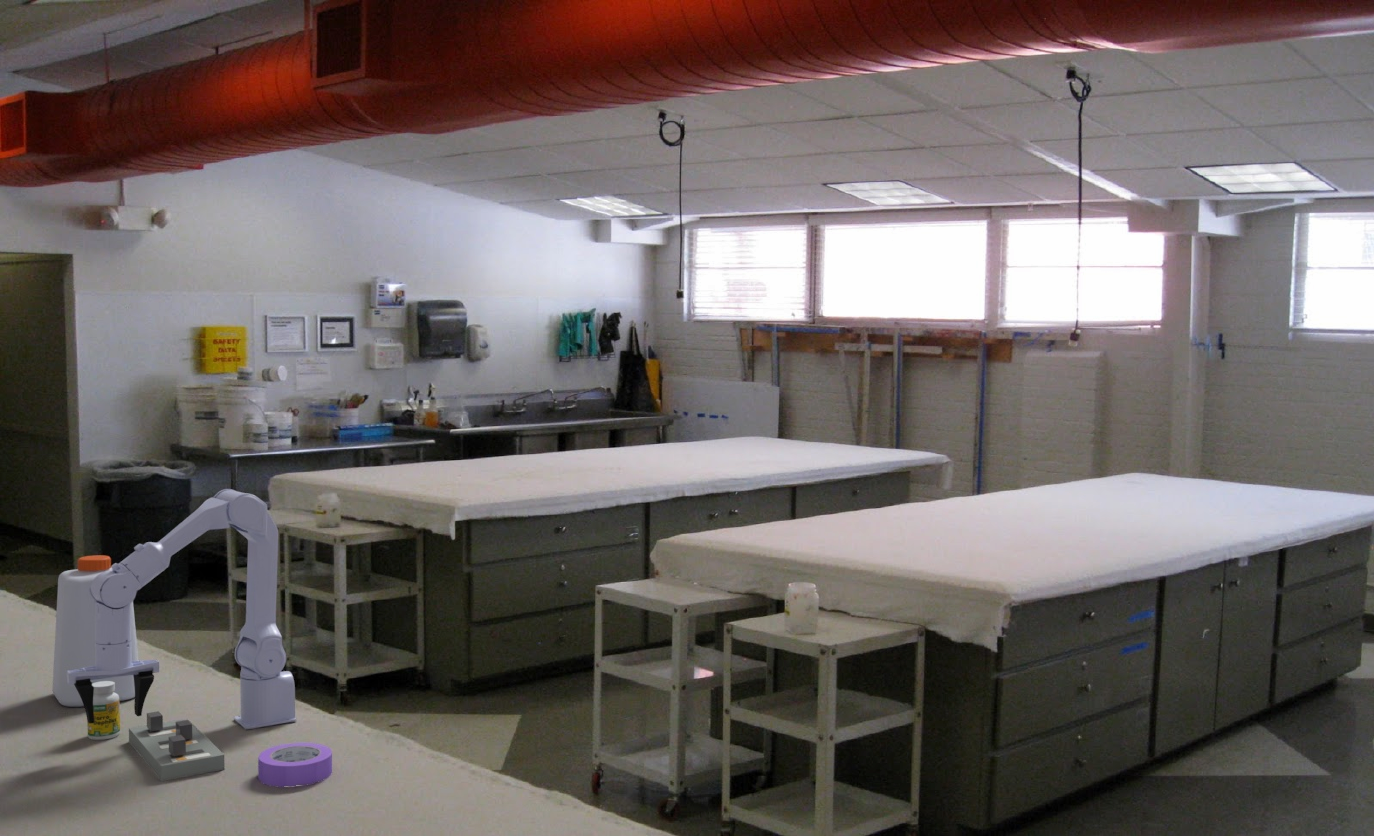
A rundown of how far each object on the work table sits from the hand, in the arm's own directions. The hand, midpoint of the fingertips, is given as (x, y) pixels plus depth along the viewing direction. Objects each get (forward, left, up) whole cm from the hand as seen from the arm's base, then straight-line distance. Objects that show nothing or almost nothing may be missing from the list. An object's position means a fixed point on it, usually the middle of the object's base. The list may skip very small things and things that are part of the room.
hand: (114, 718), depth 220 cm
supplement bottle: (0, -10, -6) cm, 12 cm away
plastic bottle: (-4, -38, -6) cm, 39 cm away
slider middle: (-10, +8, -3) cm, 13 cm away
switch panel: (-8, +8, -6) cm, 13 cm away
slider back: (-7, 0, -3) cm, 7 cm away
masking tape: (-22, +29, -6) cm, 37 cm away
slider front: (-7, +16, -3) cm, 18 cm away
